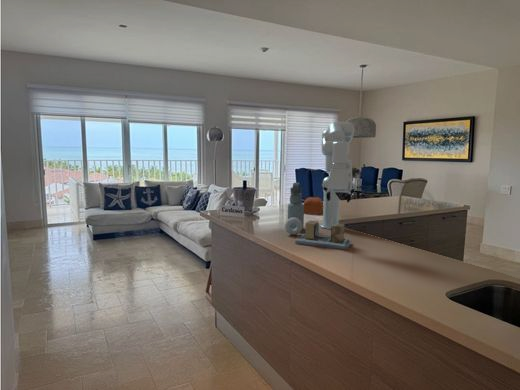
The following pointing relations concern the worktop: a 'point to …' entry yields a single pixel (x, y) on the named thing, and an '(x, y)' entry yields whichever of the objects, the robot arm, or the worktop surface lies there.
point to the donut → (297, 229)
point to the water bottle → (296, 205)
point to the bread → (313, 206)
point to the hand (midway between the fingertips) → (338, 201)
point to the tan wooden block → (337, 233)
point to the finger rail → (319, 238)
